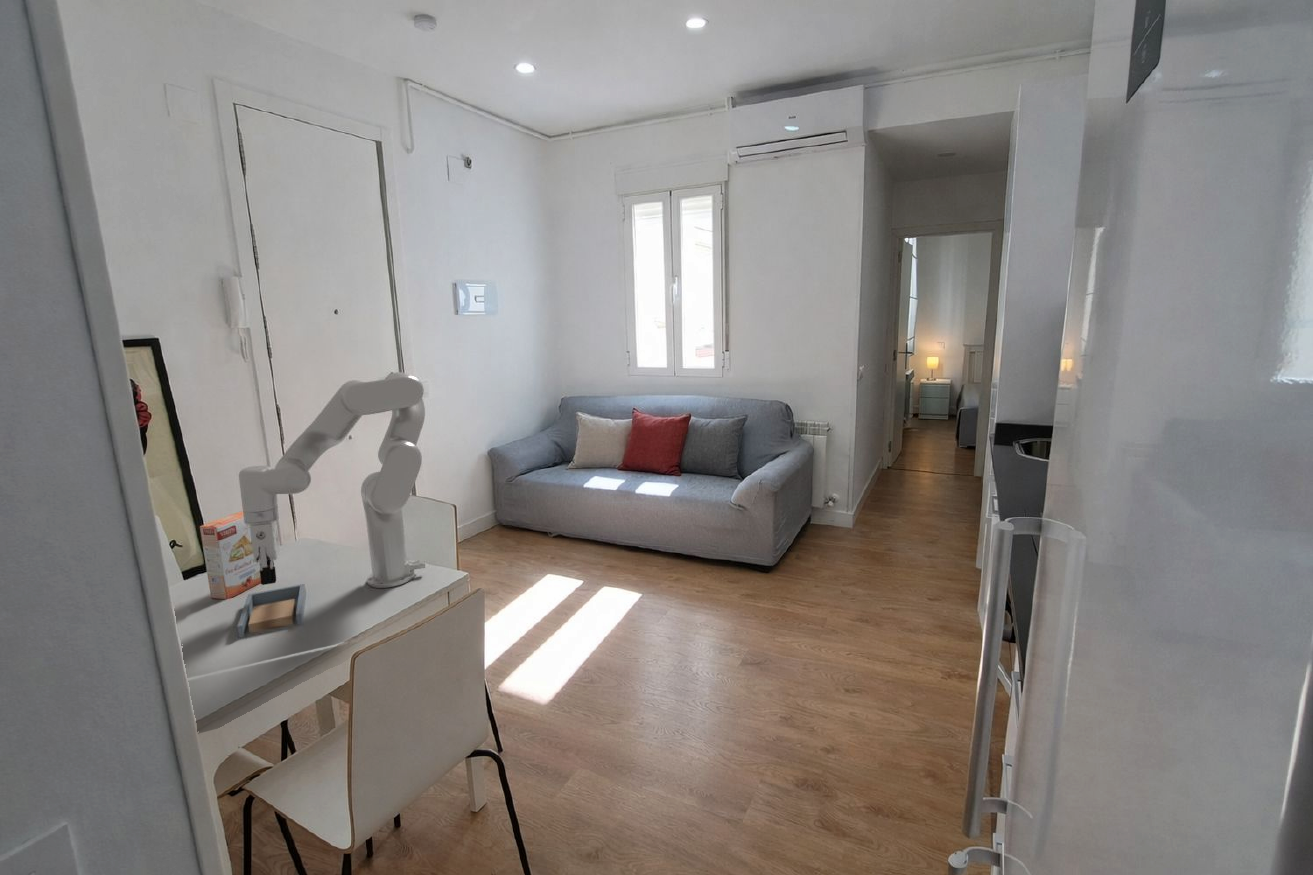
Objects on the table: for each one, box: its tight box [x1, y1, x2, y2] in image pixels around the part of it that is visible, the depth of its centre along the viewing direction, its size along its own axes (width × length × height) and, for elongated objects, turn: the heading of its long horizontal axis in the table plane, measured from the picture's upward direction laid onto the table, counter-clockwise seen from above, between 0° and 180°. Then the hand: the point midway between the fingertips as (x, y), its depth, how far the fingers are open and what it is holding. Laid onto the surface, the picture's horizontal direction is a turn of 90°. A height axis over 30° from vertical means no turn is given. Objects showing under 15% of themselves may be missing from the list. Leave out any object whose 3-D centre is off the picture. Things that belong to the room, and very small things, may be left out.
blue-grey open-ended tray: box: [236, 583, 307, 639], centre depth 155 cm, size 13×19×4 cm
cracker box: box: [199, 510, 261, 600], centre depth 169 cm, size 14×6×21 cm, turn 168°
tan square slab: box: [248, 599, 296, 634], centre depth 152 cm, size 9×10×2 cm
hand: (269, 582), depth 158 cm, fingers closed
